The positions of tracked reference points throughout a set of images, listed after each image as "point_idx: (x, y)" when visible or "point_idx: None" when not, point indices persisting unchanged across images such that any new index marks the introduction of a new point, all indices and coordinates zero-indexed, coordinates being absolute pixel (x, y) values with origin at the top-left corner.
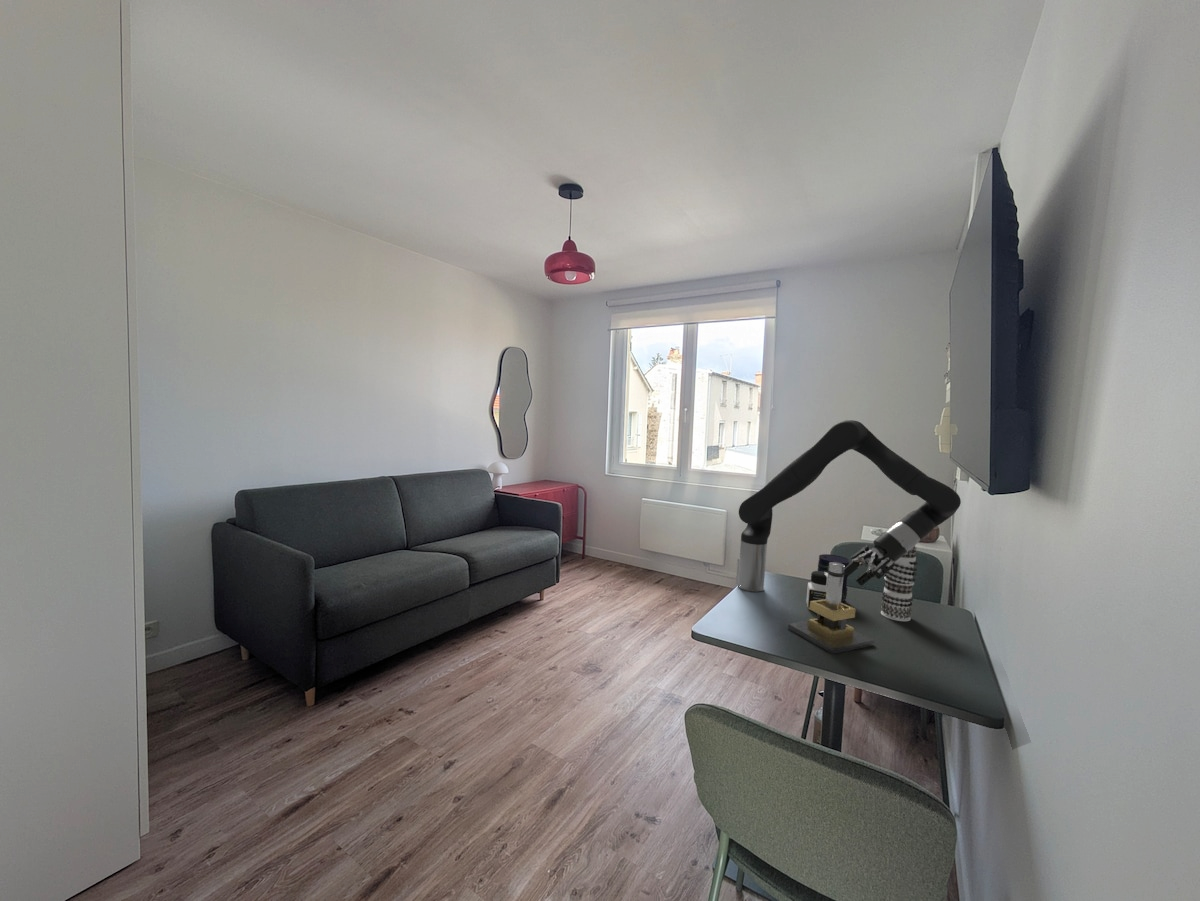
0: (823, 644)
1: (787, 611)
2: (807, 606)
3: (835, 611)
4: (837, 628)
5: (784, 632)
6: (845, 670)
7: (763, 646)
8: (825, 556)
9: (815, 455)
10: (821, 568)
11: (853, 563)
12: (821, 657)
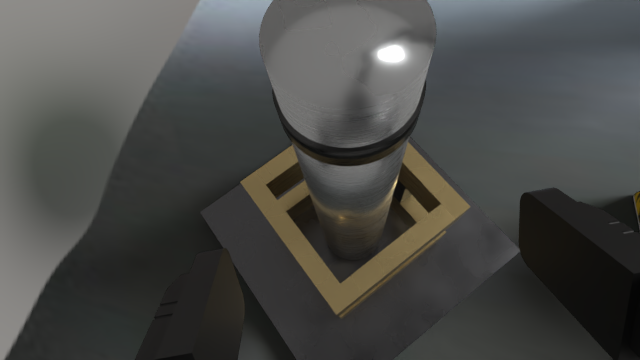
0: (234, 189)
1: (549, 113)
2: None
3: (255, 191)
4: (331, 247)
5: None
6: (100, 236)
7: (207, 35)
8: None
9: None
10: None
11: (628, 285)
12: (173, 179)
